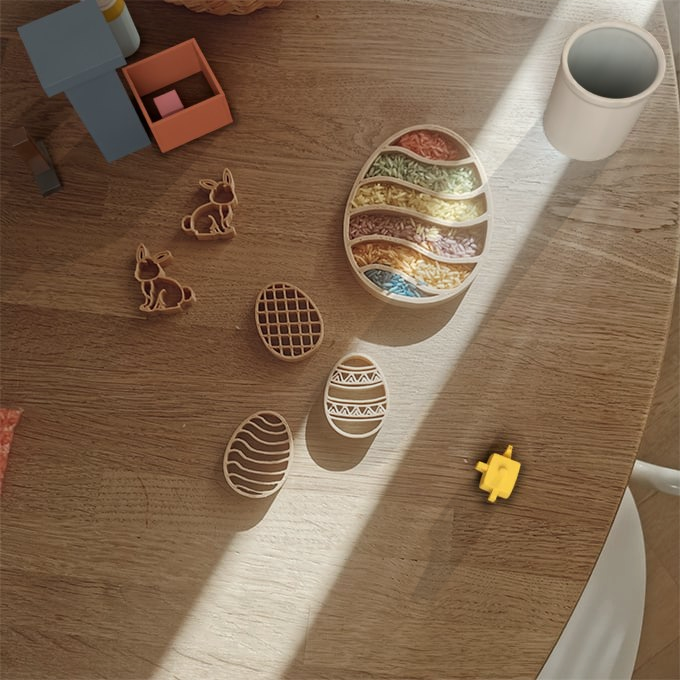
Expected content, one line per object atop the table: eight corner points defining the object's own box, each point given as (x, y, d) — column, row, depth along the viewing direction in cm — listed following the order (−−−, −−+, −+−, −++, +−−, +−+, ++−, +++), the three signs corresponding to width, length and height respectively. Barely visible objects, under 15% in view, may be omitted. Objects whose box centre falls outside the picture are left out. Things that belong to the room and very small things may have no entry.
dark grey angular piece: (47, 201, 124) (16, 164, 113) (28, 156, 127) (-3, 117, 116) (66, 192, 124) (37, 155, 114) (47, 148, 127) (18, 108, 117)
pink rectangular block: (183, 106, 123) (189, 121, 127) (174, 89, 125) (180, 104, 128) (161, 116, 123) (168, 130, 127) (153, 98, 124) (159, 113, 128)
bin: (164, 157, 125) (150, 127, 117) (137, 100, 130) (121, 68, 122) (234, 126, 127) (224, 94, 119) (205, 71, 131) (193, 37, 123)
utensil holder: (618, 178, 120) (656, 111, 103) (528, 156, 122) (551, 87, 105) (635, 106, 124) (675, 30, 107) (548, 86, 126) (574, 9, 110)
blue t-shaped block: (103, 180, 124) (42, 88, 102) (80, 128, 128) (16, 27, 106) (168, 152, 126) (122, 54, 103) (143, 101, 129) (93, -5, 107)
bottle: (144, 58, 133) (116, -6, 118) (106, 67, 132) (74, 3, 118) (139, 28, 135) (110, -38, 121) (101, 37, 135) (69, -29, 121)
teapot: (483, 442, 106) (488, 434, 101) (522, 457, 105) (529, 450, 100) (464, 493, 104) (469, 488, 99) (503, 509, 103) (509, 505, 98)
